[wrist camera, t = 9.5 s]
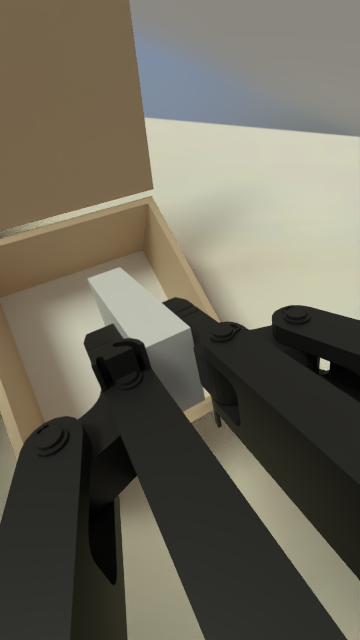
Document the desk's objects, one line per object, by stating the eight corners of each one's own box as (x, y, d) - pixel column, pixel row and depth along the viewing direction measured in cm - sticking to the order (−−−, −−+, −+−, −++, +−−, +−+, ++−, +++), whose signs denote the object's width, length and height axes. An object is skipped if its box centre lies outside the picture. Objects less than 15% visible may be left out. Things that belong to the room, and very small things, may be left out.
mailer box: (60, 483, 25) (33, 509, 17) (-8, 297, 28) (-54, 253, 21) (222, 395, 29) (255, 386, 22) (145, 246, 33) (151, 196, 26)
